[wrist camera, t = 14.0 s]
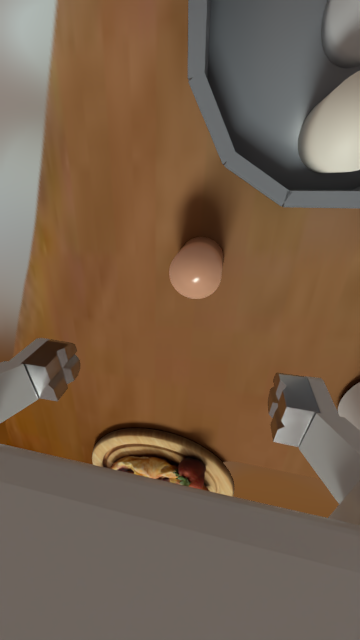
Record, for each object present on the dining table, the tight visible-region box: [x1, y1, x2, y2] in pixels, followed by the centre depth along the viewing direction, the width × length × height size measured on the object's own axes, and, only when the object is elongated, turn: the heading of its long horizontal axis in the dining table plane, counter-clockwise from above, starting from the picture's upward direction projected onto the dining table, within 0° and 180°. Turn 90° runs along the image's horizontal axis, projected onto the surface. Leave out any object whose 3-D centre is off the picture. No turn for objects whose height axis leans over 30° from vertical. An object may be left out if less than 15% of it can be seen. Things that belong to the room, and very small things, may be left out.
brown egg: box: [169, 237, 224, 299], centre depth 25 cm, size 5×5×5 cm
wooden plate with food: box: [92, 428, 234, 496], centre depth 50 cm, size 32×32×8 cm
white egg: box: [298, 71, 360, 173], centre depth 16 cm, size 5×5×5 cm
